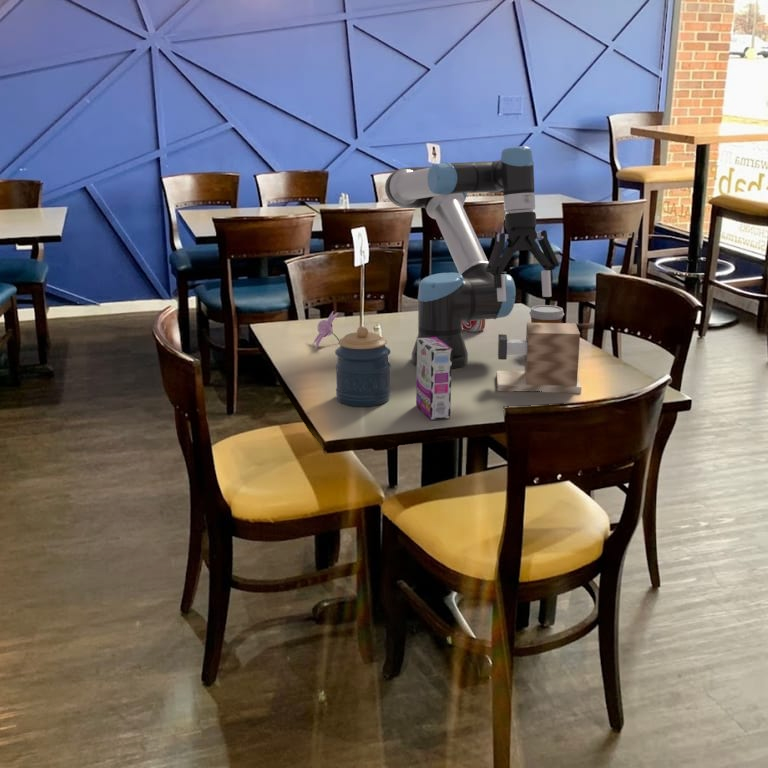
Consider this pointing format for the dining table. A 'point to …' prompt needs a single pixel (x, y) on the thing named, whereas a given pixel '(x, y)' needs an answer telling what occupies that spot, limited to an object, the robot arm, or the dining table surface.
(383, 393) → the canister
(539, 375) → the block
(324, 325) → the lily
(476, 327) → the soda can
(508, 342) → the shaft
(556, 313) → the disposable coffee cup
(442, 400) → the candy bar box
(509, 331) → the dining table surface
